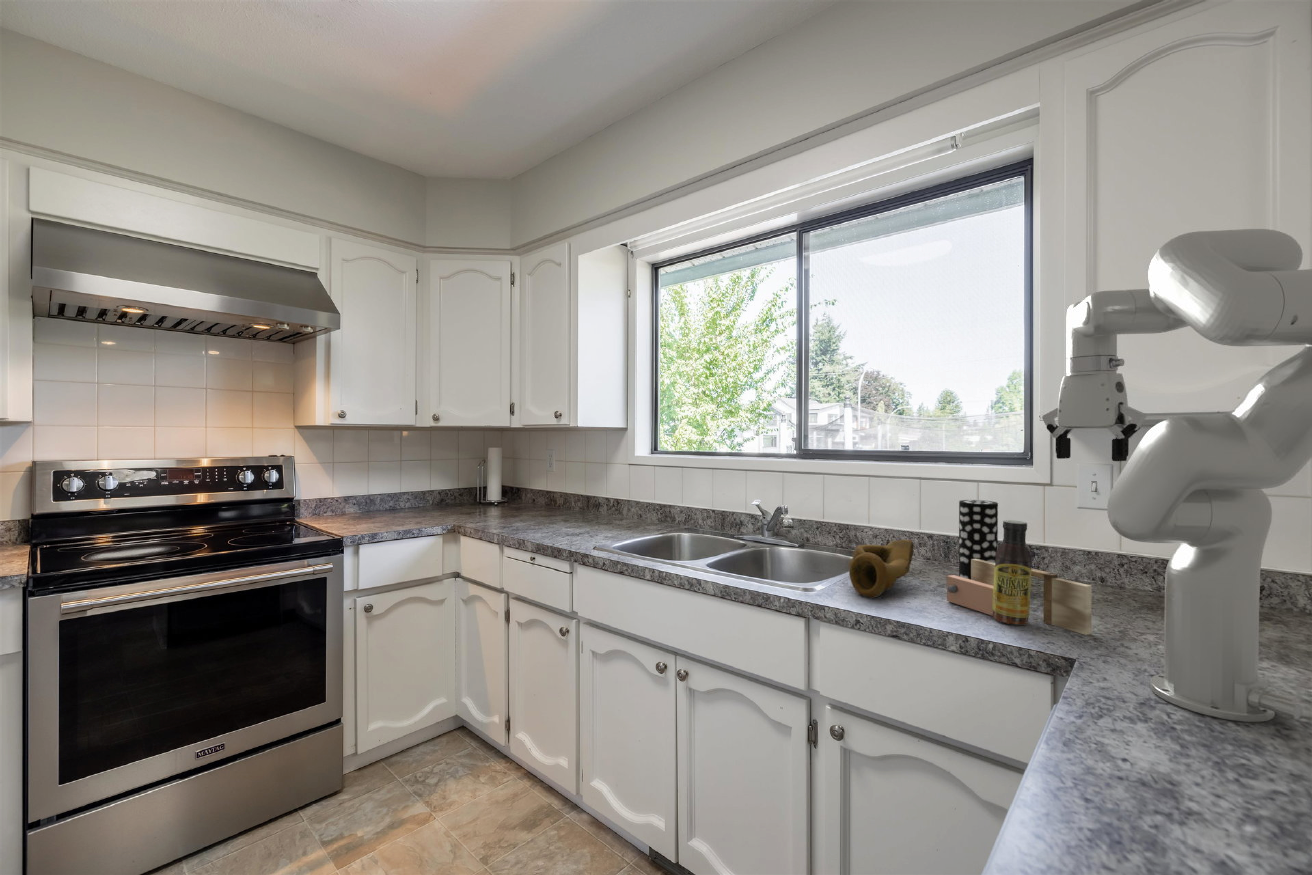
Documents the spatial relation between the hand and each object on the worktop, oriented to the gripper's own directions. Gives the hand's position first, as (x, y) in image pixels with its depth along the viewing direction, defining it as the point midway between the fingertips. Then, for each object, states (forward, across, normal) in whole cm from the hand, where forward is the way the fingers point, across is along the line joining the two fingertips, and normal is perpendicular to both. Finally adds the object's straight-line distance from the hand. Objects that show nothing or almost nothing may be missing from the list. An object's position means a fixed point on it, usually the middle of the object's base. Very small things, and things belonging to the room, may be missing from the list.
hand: (1090, 459), depth 108 cm
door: (+32, +18, +8) cm, 38 cm away
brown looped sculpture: (+33, +40, +12) cm, 53 cm away
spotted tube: (+32, +32, -11) cm, 47 cm away
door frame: (+32, +11, +2) cm, 34 cm away
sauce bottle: (+32, +10, +8) cm, 35 cm away
